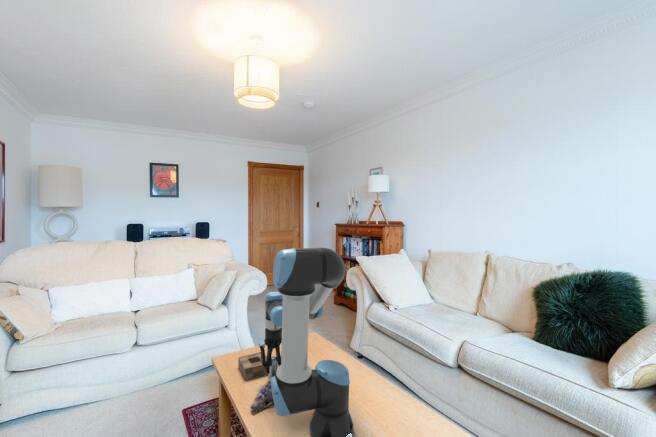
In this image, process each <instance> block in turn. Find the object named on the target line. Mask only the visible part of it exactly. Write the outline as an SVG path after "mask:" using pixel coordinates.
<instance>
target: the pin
mask: <svg viewBox="0 0 656 437" xmlns="http://www.w3.org/2000/svg"><path fill="white" fill-rule="evenodd" d="M270 366H271V367H272V377H274V376H276V371H277V357H276V356H271V363H270Z"/></svg>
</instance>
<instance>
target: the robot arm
mask: <svg viewBox="0 0 656 437" xmlns="http://www.w3.org/2000/svg"><path fill="white" fill-rule="evenodd" d="M272 267H273V268H272V269H273V270H272V275H273V276H272V283H273V287H275V288H277V291H270V292H268V293H266V294H265V299H264V302H265V306H264V308H265V318H264V320H265V321H264V324H265V329H264V336H265V338H264V340H263V342H262V343H259V344H258V348H259V349H260V351H259V352H261V361H262V365H263V366H264V367H266V373H267V374H266V375H267V380H268V381H269V382H270V383H271V390H272V396H273V401H274V403H273V404H274V410H275V413H276V414H277V416H280V417H287V416H292V415H297V414H299V413H303V412H308V411H312V410H313V414H312V416H311V419H310V422H309V435H310V437H346V436H347V435H348V434H350V433H351V434H353V435H354V422H353V419H352V416H351V413H350V408H349V405H350V383H351V380H350V373H349V372H350V371H349V369H348V368H347V366H346V365H344V364H343V363H341V362H339V361H336V360H332V359H324V360H323V359H322V360H320V361H318V362H317V363H316V364H315V367H314V369H312V368H311V366H310V365H309V364H308V356H309V355H308V354H309V333H310V332H309V330H310V329H309V327H310V326H309V325H310V320H315V319H320V318H321V317H322V316H323V311H324V310H323V305H324V303H325V302H326V300H327V298H328V297H329V296H330V294H331V292H332V291H333V290H334V289H336V288H338V287H339V286H340V285H341V284H342V282H343V281H344V278H345V274H346V266H345V261H344V260H343V258H342V257H341V255H340V254H339V253H338V252H336V251H335V250H333V249H331V248H328V247H312V248H311V247H309V248H307V247H304V248H303V247H302V248H301V247H300V248H294V247H292V248H287V249H285V248H284V249H282V250H279V251H277V254H276V255H275V258H274V262H273V266H272ZM280 346H281V347H280ZM265 347H266V348H267V352H265ZM274 350H275V357H277V371H276V376H274V377H272V367H271V366H270V363H271V357H272V353H273V351H274ZM265 355H266V356H267V358H266V359H265Z"/></svg>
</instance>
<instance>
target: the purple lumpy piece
mask: <svg viewBox="0 0 656 437" xmlns="http://www.w3.org/2000/svg"><path fill="white" fill-rule="evenodd" d="M266 402H268V404H266ZM272 404H274V401H273V396H272V390H271V382H270V383H268V384H266V385H263V386H261V388H260V389H259V393H257V396H255V398H254V401H253V402H252V404H251V405H250V410H252V411H255V413H257V412H258V411H259V412H260V411H262V410H264V409H265V408H268V407H270V406H271V405H272Z"/></svg>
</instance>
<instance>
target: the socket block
mask: <svg viewBox="0 0 656 437" xmlns="http://www.w3.org/2000/svg"><path fill="white" fill-rule="evenodd" d="M266 358H267V354H265V359H266ZM237 364H238V365H237V367H238V369H239V371H240V373H241V375H242V377H243V378H244V380H245V381H246V380H251V379H255V378H257V377H258V378H259V377H261V376H265V375H268V374H267V373H266V367H264V366H263V365H262V361H261V351H259V352H254V353H251V354H246V355H243V356H239V357H238V363H237Z"/></svg>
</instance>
